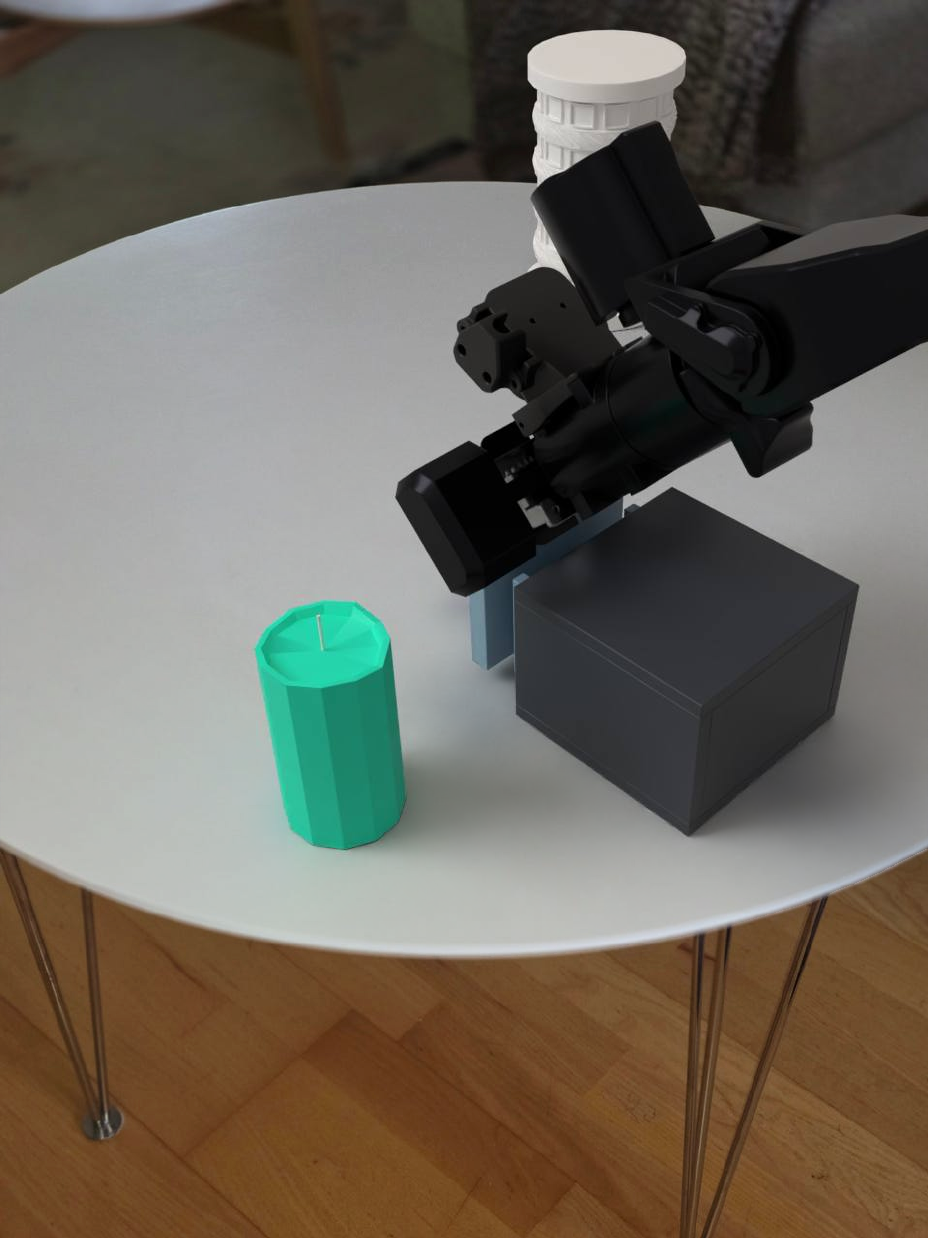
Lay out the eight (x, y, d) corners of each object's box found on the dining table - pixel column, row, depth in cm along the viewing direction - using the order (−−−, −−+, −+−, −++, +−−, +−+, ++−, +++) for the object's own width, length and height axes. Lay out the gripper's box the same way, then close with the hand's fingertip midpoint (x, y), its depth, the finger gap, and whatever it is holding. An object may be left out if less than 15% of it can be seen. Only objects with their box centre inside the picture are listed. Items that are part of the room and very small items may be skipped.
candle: (321, 869, 64) (289, 682, 56) (262, 791, 68) (225, 605, 60) (429, 812, 66) (413, 625, 58) (367, 740, 70) (344, 555, 62)
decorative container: (515, 266, 110) (511, 34, 98) (657, 255, 110) (671, 22, 98) (535, 337, 101) (534, 91, 89) (689, 324, 101) (709, 78, 90)
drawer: (407, 616, 76) (399, 517, 72) (539, 534, 81) (539, 438, 77) (618, 762, 67) (623, 659, 63) (751, 660, 72) (764, 559, 68)
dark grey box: (515, 714, 71) (513, 586, 65) (662, 611, 77) (671, 485, 71) (688, 837, 64) (702, 706, 59) (835, 714, 70) (860, 584, 65)
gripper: (706, 179, 64) (539, 312, 78) (409, 320, 55) (278, 444, 69) (822, 384, 65) (637, 481, 79) (548, 558, 56) (391, 634, 69)
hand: (493, 504), depth 74 cm, fingers closed
